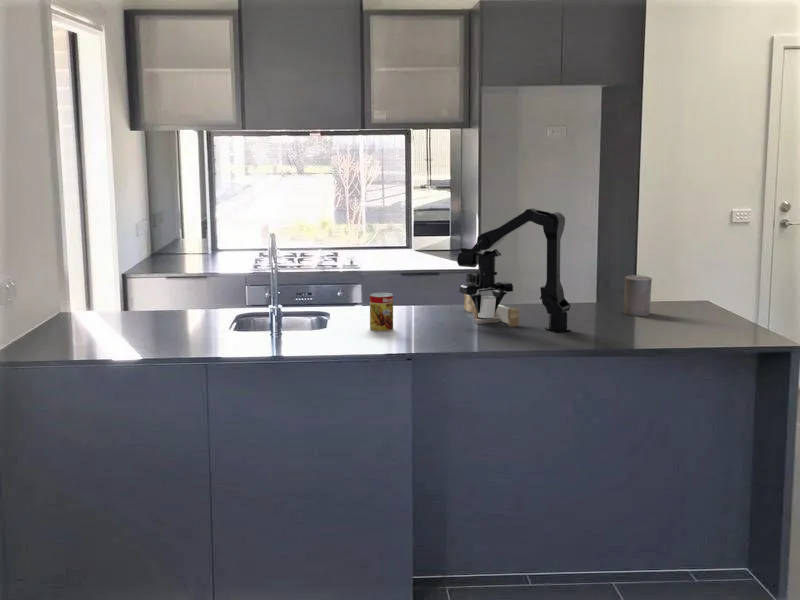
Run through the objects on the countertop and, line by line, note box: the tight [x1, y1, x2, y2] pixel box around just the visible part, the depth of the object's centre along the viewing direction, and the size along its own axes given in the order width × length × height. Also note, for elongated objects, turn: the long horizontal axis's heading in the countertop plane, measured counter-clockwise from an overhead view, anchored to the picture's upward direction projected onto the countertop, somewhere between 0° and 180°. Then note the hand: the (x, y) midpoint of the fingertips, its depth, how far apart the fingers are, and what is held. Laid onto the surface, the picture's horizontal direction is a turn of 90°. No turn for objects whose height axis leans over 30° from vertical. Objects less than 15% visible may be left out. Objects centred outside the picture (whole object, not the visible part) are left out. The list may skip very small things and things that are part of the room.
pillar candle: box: [622, 273, 653, 317], centre depth 348 cm, size 10×10×15 cm
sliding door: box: [473, 304, 510, 325], centre depth 336 cm, size 18×9×5 cm, turn 24°
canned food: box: [369, 292, 394, 332], centre depth 321 cm, size 8×8×12 cm
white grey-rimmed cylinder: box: [478, 295, 496, 318], centre depth 332 cm, size 7×7×7 cm
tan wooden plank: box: [463, 294, 520, 328], centre depth 340 cm, size 34×12×6 cm, turn 24°
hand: (486, 312), depth 332 cm, fingers closed on white grey-rimmed cylinder, 6 cm apart
